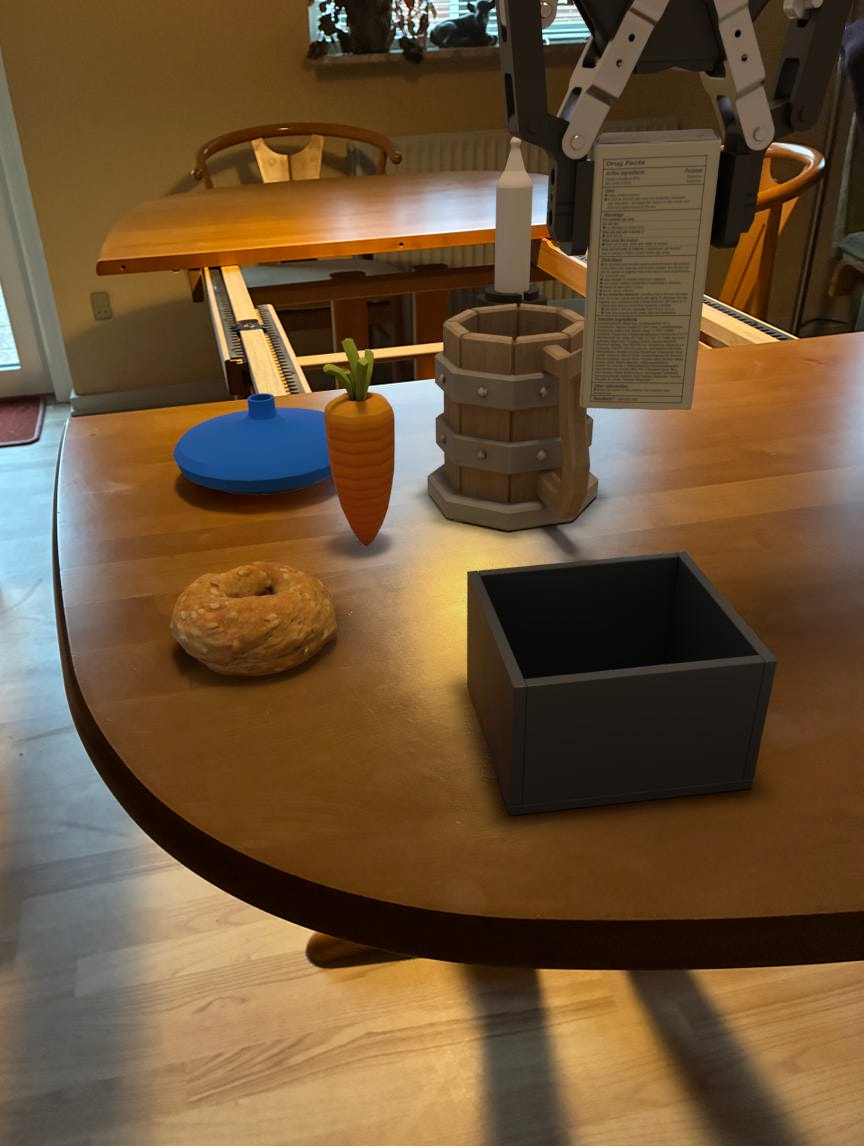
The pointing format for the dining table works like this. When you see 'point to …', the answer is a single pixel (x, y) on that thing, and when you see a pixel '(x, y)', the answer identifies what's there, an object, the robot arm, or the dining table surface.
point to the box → (647, 267)
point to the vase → (256, 449)
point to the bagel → (254, 619)
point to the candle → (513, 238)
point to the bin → (613, 682)
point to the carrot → (360, 445)
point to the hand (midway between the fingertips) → (647, 247)
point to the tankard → (512, 418)
